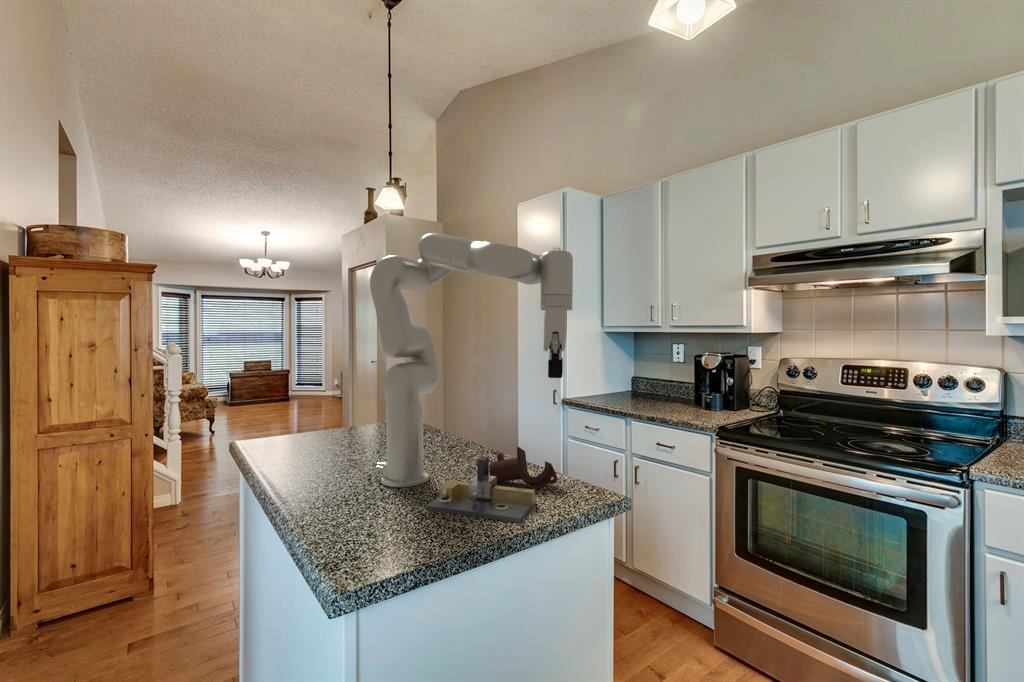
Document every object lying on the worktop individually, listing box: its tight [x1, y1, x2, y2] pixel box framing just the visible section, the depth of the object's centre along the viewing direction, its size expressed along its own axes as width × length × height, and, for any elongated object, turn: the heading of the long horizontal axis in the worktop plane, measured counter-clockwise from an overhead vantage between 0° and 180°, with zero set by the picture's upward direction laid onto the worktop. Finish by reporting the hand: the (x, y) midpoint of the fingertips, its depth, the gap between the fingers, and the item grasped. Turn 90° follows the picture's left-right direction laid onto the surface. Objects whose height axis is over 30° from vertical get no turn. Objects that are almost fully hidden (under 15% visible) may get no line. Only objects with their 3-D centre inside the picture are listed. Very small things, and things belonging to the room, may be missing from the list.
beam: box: [439, 479, 536, 504], centre depth 109 cm, size 22×6×2 cm, turn 71°
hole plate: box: [425, 495, 537, 524], centre depth 107 cm, size 22×12×1 cm, turn 71°
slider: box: [468, 455, 498, 502], centre depth 110 cm, size 5×8×9 cm, turn 161°
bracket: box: [489, 446, 559, 487], centre depth 124 cm, size 6×17×10 cm, turn 78°
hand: (555, 375), depth 112 cm, fingers open, 9 cm apart
